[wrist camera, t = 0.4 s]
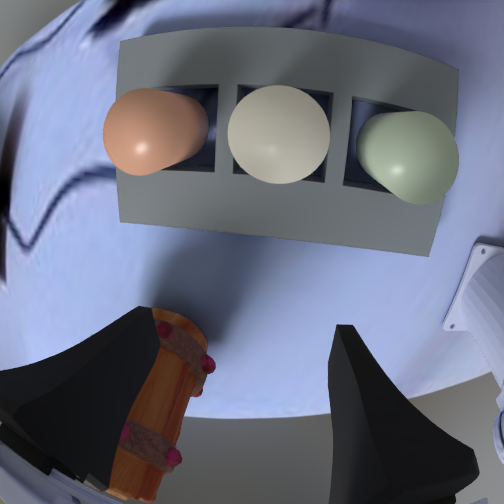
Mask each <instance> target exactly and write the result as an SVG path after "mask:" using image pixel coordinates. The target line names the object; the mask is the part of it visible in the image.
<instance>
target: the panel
mask: <svg viewBox="0 0 504 504" xmlns="http://www.w3.org/2000/svg"><path fill="white" fill-rule="evenodd" d="M273 85H283V86H289V87H293V88H296V89H299V90H301V91H303V92H305V93H311V94H319V95H326V96H329V105H328V116H327V120H328V123H329V127H330V143H329V148H328V151H327V154H326V156H325V158H324V160H323V166H322V174H321V176H313V175H308V176H307V177H305V178H303V179H301V180H298V181H296V182H292V183H286V184H274V183H268V182H264V181H261V180H259V179H257V178H255V177H253V176H251V175H250V174H248V173H247V172H246V171H245V170H244V169H243V168H239V164H238V163H237V161H236V160H235V158H234V157H233V155H232V152H231V150H230V147H229V143H228V124H229V121H230V117H231V115H232V113H233V111H234V109H235V107H236V106H237V105H238V103H239V102H240V101H241V100H242V99H243V92H244V88H248V89H260V88H263V87H267V86H273ZM138 88H150V89H156V90H176V89H196V88H219V91H218V108H217V127H216V150H215V167H212V166H190V165H171V166H169V167H166V168H164V169H161V170H159V171H157V172H154V173H151V174H148V175H142V176H137V175H131V174H128V173H125V172H124V171H122V170H120V169H119V168H118V167H117V166H116V178H117V193H118V206H119V216H120V222H123V223H134V224H145V225H156V226H166V227H177V228H187V229H197V230H207V231H216V232H226V233H235V234H245V235H254V236H263V237H272V238H281V239H289V240H298V241H307V242H315V243H323V244H332V245H340V246H348V247H356V248H364V249H372V250H380V251H387V252H395V253H403V254H410V255H417V256H425V257H429V254H430V250H431V247H432V244H433V240H434V237H435V233H436V229H437V226H438V222H439V218H440V214H441V210H442V205H443V201H444V196H445V195H443V196H442V197H441V198H440V199H438V200H436V201H434V202H431V203H428V204H419V205H418V204H412V203H408V202H406V201H403V200H402V199H400V198H398V197H397V196H396V195H395V194H393V193H392V192H391V191H389V190H388V189H387V188H386V187H384V186H379V185H373V184H368V183H362V182H355V181H349V180H343V179H344V172H345V164H346V156H347V148H348V139H349V130H350V119H351V108H352V100H356V101H361V102H366V103H371V104H376V105H380V106H385V107H389V108H393V109H397V110H401V111H405V112H409V111H420V112H425V113H429V114H431V115H433V116H435V117H437V118H438V119H439V120H441V121H442V122H443V123H444V124H445V125H446V126H447V127H448V129H449V130H450V132H451V133H452V135H453V137H454V136H455V127H456V116H457V101H458V69H457V68H454V67H452V66H449V65H447V64H444V63H442V62H439V61H437V60H434V59H431V58H428V57H426V56H423V55H420V54H417V53H414V52H411V51H407V50H404V49H401V48H397V47H394V46H390V45H386V44H383V43H379V42H374V41H370V40H366V39H361V38H356V37H351V36H346V35H340V34H334V33H328V32H321V31H313V30H304V29H293V28H279V27H214V28H200V29H190V30H181V31H173V32H166V33H159V34H153V35H148V36H142V37H137V38H132V39H128V40H123V41H120V49H119V59H118V70H117V85H116V100H117V99H118V98H120V97H121V96H122V95H124V94H125V93H127V92H129V91H131V90H134V89H138Z"/></svg>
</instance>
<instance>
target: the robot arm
mask: <svg viewBox="0 0 504 504" xmlns="http://www.w3.org/2000/svg"><path fill="white" fill-rule="evenodd" d="M483 248H484V250H483V251H482V249H483ZM481 251H482V252H481ZM452 324H453V325H452ZM442 328H443V329H444V330H445V331H469V332H470V334H471V335H472V337H473V339H474V340H475V342H476V344H477V346H478V347H479V349H480V351H481V353H482V354H483V356H484V358H485V360H486V362H487V363H488V365H489V367H490V369H491V371H492V373H493V375H494V377H495V379H496V381H497V383H498V385H499V387H500V389H501V393H500V395H499V396H498V397H497V399H496V402H497V404H498V406H499V408H500V411H499V413H498V414H497V416H496V418H495V421H494V427H493V435H494V444H495V448H496V451H497V454H498V456H499V458H500V460H501V461H502V463H503V464H504V248H503V247H499V246H494V245H489V244H484V243H476V244H475V245H474V247H473V249H472V252H471V255H470V258H469V261H468V264H467V267H466V269H465V272H464V275H463V277H462V280H461V283H460V285H459V288H458V290H457V292H456V295H455V297H454V300H453V302H452V304H451V306H450V309H449V311H448V313H447V315H446V317H445V320H444V322H443V324H442ZM160 346H161V344H160V340H159V336H158V333H157V329H156V325H155V321H154V317H153V312H152V308H148V307H142V306H138V307H136V308H134V309H133V310H131V311H129V312H128V313H126V314H125V315H123V316H122V317H120V318H119V319H117V320H116V321H114V322H113V323H111V324H109V325H108V326H106V327H105V328H103V329H102V330H100V331H99V332H97V333H95V334H94V335H92V336H90V337H89V338H87V339H85V340H84V341H82V342H80V343H79V344H77V345H75V346H73V347H71V348H69V349H67V350H65V351H63V352H61V353H59V354H56V355H54V356H51V357H49V358H46V359H44V360H41V361H38V362H35V363H32V364H29V365H25V366H22V367H18V368H13V369H8V370H2V371H0V421H1V422H2V424H1V426H0V498H1V499H2V500H3V501H4V502H5V503H6V504H81V503H80V501H82V502H84V503H86V504H122V503H120V502H118V501H115V500H113V499H111V498H108V497H106V496H104V495H102V494H100V493H98V492H96V491H94V490H92V489H90V488H87V487H86V486H84V485H81V484H80V483H78V482H76V481H75V480H77V481H79V482H81V483H85V484H87V485H89V486H91V487H93V488H95V489H97V490H99V491H106V490H108V489H109V485H110V478H111V473H112V467H113V463H114V459H115V455H116V451H117V447H118V444H119V440H120V437H121V434H122V431H123V428H124V425H125V422H126V420H127V417H128V414H129V412H130V410H131V407H132V405H133V403H134V401H135V400H136V398H137V396H138V394H139V392H140V390H141V388H142V386H143V384H144V383H145V381H146V379H147V377H148V375H149V373H150V371H151V369H152V367H153V365H154V363H155V360H156V357H157V355H158V352H159V349H160ZM328 390H329V399H330V408H331V418H332V428H333V464H332V465H333V466H332V479H331V489H330V498H329V504H455V503H456V497H455V494H456V493H458V492H459V491H461V490H462V489H464V488H465V487H466V486H468V485H469V484H471V483H472V482H473V481H474V480H475V479H476V478H477V477H478V476H479V468H478V463H477V459H476V456H475V454H474V450H473V449H472V448H470V447H468V446H467V445H465V444H463V443H462V442H460V441H458V440H457V439H455V438H453V437H452V436H450V435H449V434H447V433H446V432H445V431H443V430H442V429H440V428H439V427H437V426H436V425H435V424H434V423H432V422H431V421H430V420H429V419H428V418H427V417H426V416H424V415H423V414H422V413H421V412H420V411H419V410H418V409H417V408H416V407H414V406H413V405H412V404H411V403H410V402H409V401H408V400H407V398H406V397H405V396H404V395H403V394H402V393H401V392H400V391H399V390H398V389H397V387H396V386H395V385H394V384H393V383H392V381H391V380H390V379H389V377H388V376H387V375H386V374H385V372H384V371H383V370H382V368H381V367H380V365H379V364H378V363H377V361H376V360H375V358H374V357H373V355H372V354H371V352H370V351H369V349H368V348H367V346H366V345H365V343H364V342H363V340H362V339H361V337H360V335H359V334H358V332H357V330H356V329H355V327H354V326H353V325H339V324H337V325H336V330H335V335H334V339H333V344H332V348H331V352H330V357H329V361H328ZM79 500H80V501H79ZM472 504H488V500H487V498H483V499H481V500H479V501H476V502H474V503H472Z"/></svg>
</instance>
